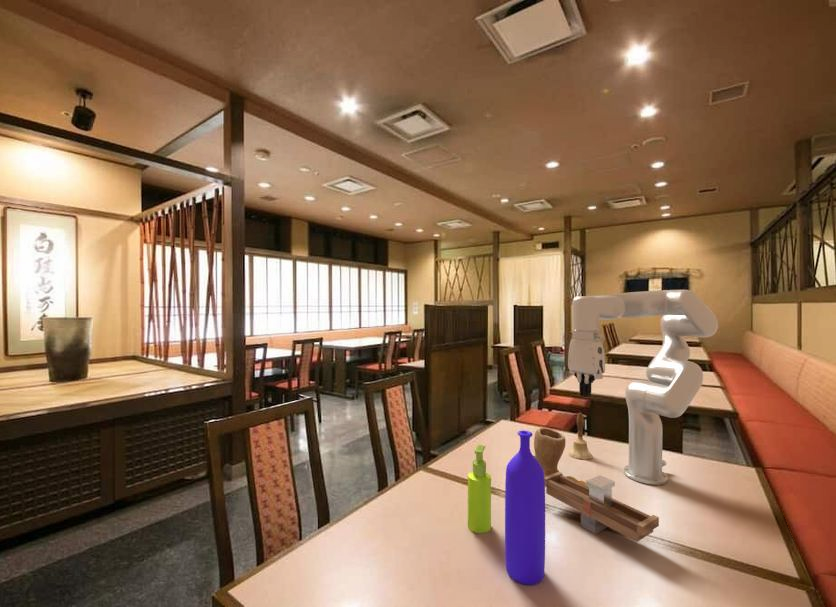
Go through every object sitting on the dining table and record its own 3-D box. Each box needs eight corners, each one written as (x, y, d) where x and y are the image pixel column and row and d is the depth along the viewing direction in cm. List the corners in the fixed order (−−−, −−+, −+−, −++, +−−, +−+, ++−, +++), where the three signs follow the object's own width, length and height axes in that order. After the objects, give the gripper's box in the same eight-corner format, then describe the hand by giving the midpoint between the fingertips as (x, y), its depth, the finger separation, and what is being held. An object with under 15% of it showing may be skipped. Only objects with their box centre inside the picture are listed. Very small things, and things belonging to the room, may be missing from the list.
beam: (559, 498, 110) (559, 471, 110) (659, 551, 87) (659, 517, 87) (542, 505, 106) (542, 477, 106) (642, 563, 83) (642, 527, 83)
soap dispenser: (492, 520, 99) (492, 444, 99) (489, 535, 93) (489, 454, 93) (471, 515, 101) (471, 442, 101) (465, 530, 95) (465, 451, 95)
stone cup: (572, 483, 119) (572, 436, 119) (536, 485, 118) (536, 438, 118) (550, 463, 135) (550, 421, 134) (518, 464, 133) (518, 422, 133)
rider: (599, 498, 99) (600, 475, 99) (614, 505, 95) (614, 481, 95) (585, 505, 95) (586, 480, 95) (600, 512, 92) (600, 487, 92)
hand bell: (564, 451, 145) (564, 410, 145) (584, 450, 146) (584, 409, 146) (575, 460, 137) (575, 416, 137) (597, 459, 138) (597, 416, 138)
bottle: (499, 560, 84) (500, 426, 84) (535, 557, 85) (536, 425, 85) (512, 588, 76) (512, 440, 76) (551, 585, 76) (552, 438, 76)
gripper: (616, 337, 111) (615, 399, 111) (572, 333, 124) (571, 389, 124) (601, 338, 107) (600, 402, 107) (557, 334, 120) (557, 392, 120)
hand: (585, 395), depth 115 cm, fingers closed
